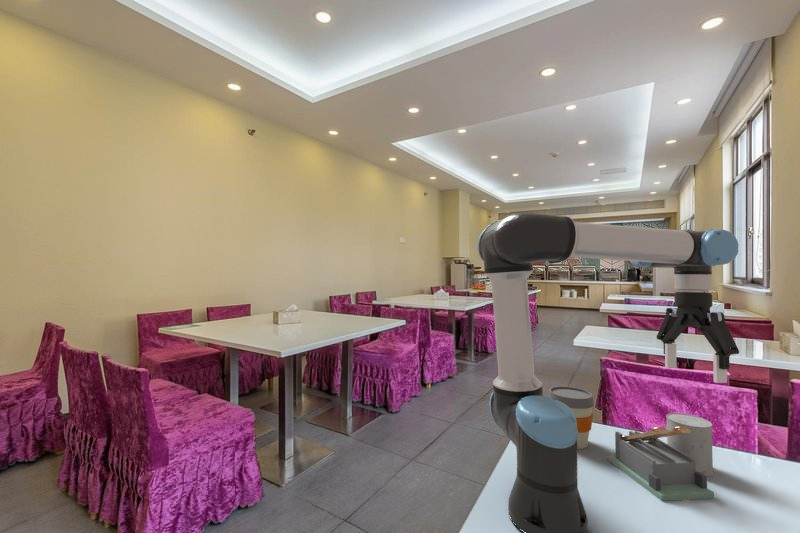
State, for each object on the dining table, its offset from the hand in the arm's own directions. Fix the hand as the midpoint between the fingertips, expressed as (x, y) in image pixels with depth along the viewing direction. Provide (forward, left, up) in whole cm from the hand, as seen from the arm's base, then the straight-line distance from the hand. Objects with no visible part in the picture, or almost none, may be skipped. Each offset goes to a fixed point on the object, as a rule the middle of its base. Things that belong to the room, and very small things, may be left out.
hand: (693, 374), depth 90 cm
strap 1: (-13, +1, -16) cm, 21 cm away
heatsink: (-10, +1, -26) cm, 28 cm away
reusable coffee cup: (-21, +21, -26) cm, 39 cm away
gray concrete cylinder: (+3, +5, -26) cm, 26 cm away
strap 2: (-8, +1, -16) cm, 18 cm away
